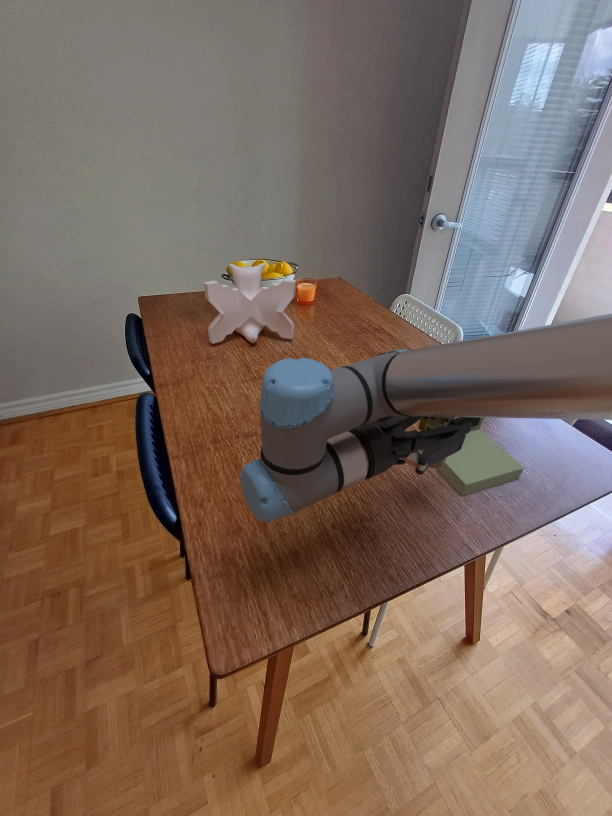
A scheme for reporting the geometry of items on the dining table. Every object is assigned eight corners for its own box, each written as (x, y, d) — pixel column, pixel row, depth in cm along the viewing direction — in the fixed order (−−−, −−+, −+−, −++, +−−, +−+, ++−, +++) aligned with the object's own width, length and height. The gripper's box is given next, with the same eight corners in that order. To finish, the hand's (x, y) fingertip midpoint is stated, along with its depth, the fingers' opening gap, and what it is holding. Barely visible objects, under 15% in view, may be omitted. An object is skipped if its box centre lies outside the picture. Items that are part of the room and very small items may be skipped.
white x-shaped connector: (280, 317, 135) (282, 252, 123) (295, 345, 119) (299, 274, 107) (205, 321, 129) (199, 253, 117) (210, 351, 113) (204, 276, 100)
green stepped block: (518, 478, 78) (530, 456, 74) (461, 496, 73) (471, 472, 70) (470, 435, 88) (478, 413, 85) (417, 447, 84) (424, 425, 80)
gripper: (316, 440, 62) (423, 401, 73) (390, 517, 50) (504, 457, 61) (320, 400, 58) (433, 365, 68) (401, 475, 46) (522, 418, 57)
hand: (466, 409), depth 65 cm, fingers closed on grenade, 4 cm apart
